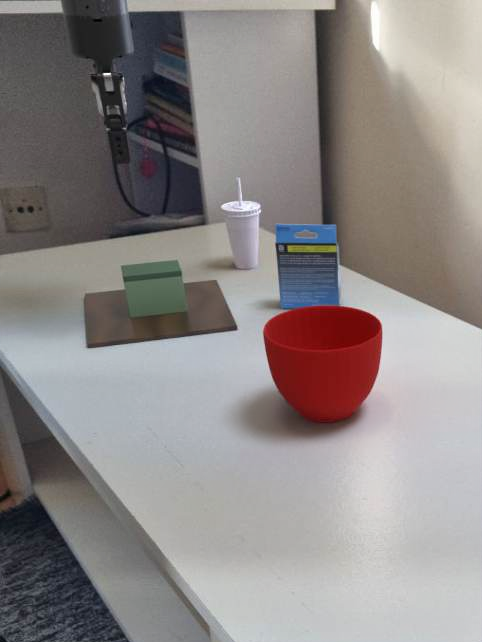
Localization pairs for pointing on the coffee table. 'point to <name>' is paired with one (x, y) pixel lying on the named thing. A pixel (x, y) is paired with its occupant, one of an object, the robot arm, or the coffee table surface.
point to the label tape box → (307, 266)
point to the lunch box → (154, 288)
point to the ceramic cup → (324, 359)
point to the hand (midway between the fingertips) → (120, 156)
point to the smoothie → (243, 230)
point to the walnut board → (156, 317)
